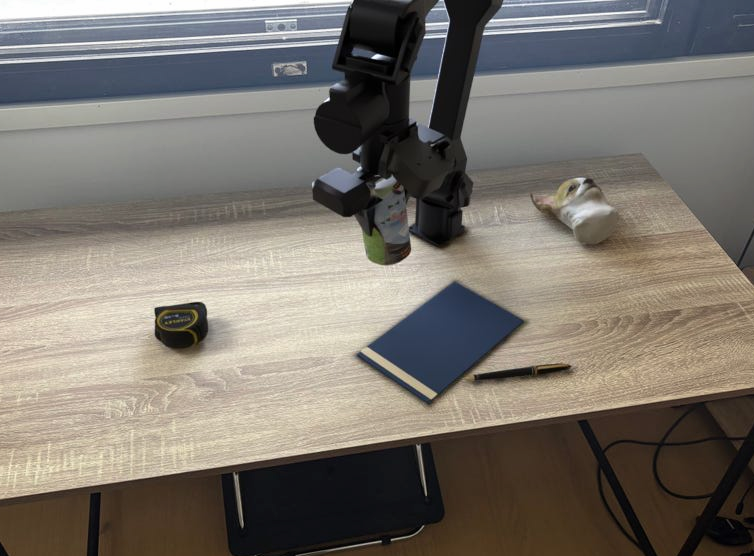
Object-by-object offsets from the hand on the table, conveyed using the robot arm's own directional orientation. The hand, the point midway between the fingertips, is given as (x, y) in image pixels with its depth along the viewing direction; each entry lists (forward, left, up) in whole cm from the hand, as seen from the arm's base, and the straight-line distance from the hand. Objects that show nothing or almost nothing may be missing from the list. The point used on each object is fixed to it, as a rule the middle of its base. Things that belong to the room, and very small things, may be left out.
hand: (383, 226), depth 94 cm
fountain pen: (+23, 0, -12) cm, 26 cm away
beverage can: (0, 0, -5) cm, 5 cm away
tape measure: (-14, -24, -12) cm, 30 cm away
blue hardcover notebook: (+12, -1, -12) cm, 17 cm away
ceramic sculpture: (+11, +33, -12) cm, 37 cm away
